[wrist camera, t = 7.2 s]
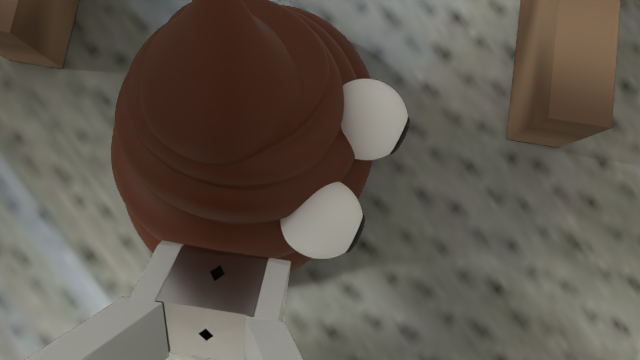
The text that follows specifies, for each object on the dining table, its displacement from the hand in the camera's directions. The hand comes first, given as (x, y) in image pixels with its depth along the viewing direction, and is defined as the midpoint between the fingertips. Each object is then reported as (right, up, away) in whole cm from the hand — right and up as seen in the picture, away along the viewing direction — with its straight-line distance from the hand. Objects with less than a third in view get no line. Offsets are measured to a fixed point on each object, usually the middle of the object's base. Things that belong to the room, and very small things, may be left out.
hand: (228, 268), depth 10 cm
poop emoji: (0, +3, +7) cm, 7 cm away
